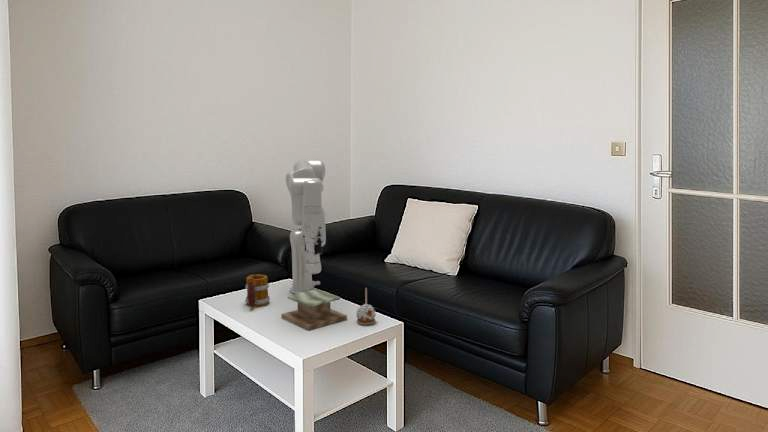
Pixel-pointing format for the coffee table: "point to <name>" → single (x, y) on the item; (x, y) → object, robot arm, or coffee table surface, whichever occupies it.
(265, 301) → the mug
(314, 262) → the plastic bottle
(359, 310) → the decorative ornament
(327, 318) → the walnut stand
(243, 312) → the coffee table surface
